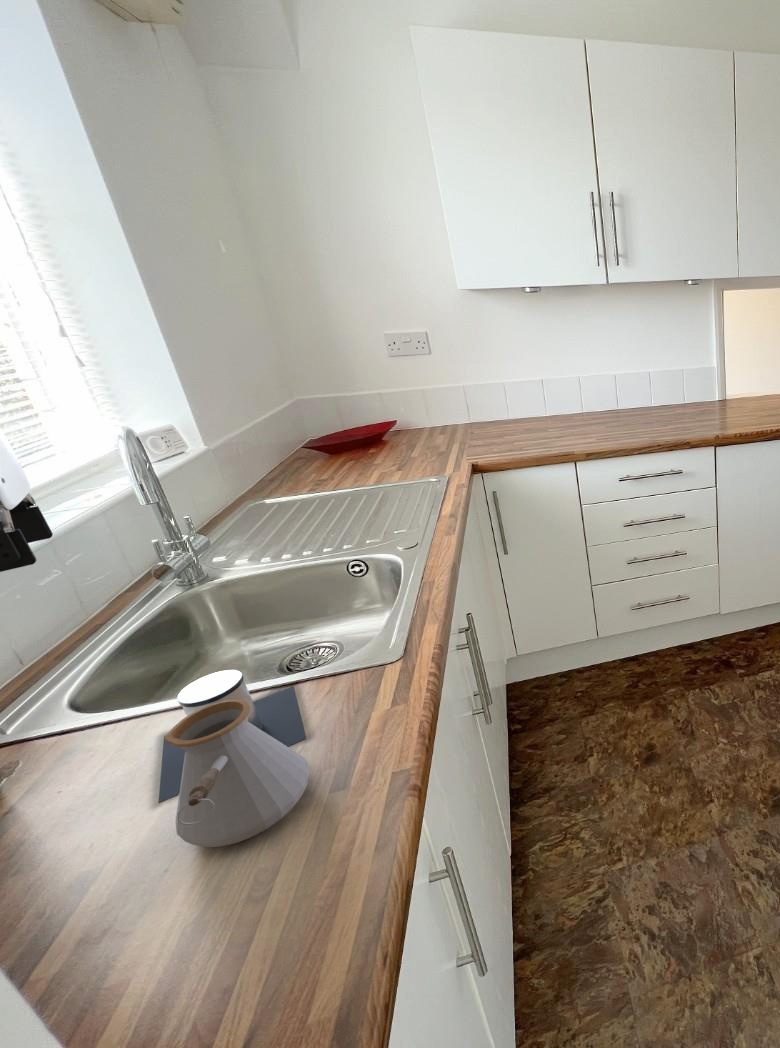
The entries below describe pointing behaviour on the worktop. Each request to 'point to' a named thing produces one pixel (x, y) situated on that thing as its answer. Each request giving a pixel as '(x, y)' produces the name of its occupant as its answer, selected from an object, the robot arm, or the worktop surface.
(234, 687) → the canister
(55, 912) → the worktop surface
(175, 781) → the mat
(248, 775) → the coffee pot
